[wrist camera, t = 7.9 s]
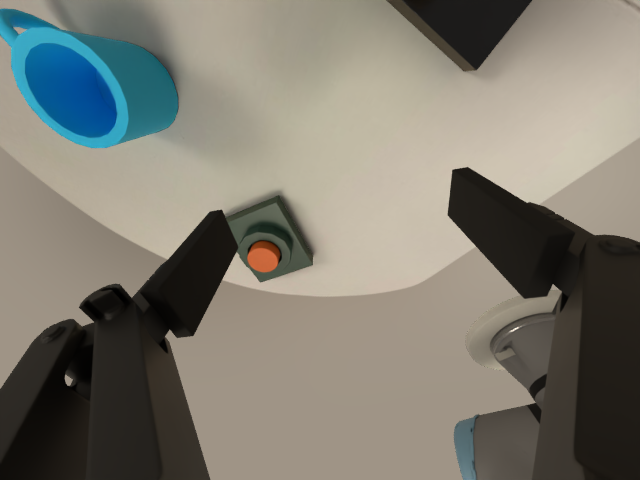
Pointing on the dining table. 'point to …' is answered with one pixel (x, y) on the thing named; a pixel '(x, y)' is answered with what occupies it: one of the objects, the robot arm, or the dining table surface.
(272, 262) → the alarm button
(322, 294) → the dining table surface
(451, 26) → the plate
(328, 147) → the dining table surface
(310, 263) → the alarm box
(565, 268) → the robot arm
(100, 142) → the mug
